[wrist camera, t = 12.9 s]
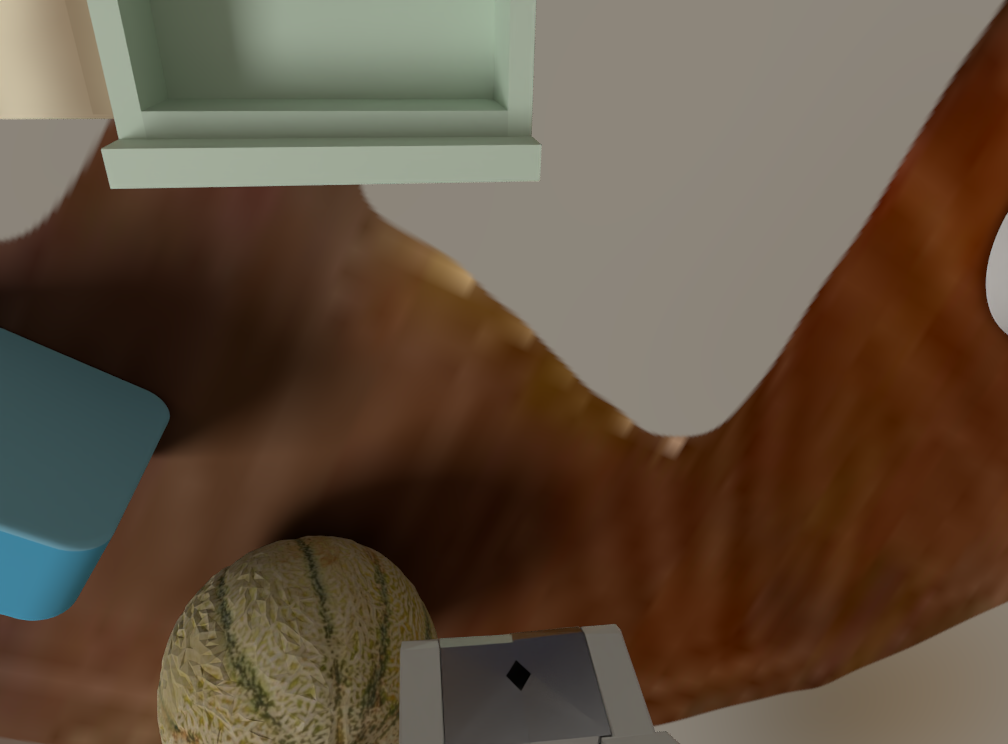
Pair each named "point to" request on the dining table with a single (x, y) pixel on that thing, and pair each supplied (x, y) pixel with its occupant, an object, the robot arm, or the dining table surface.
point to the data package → (64, 471)
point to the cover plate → (50, 62)
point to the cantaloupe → (292, 649)
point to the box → (317, 91)
